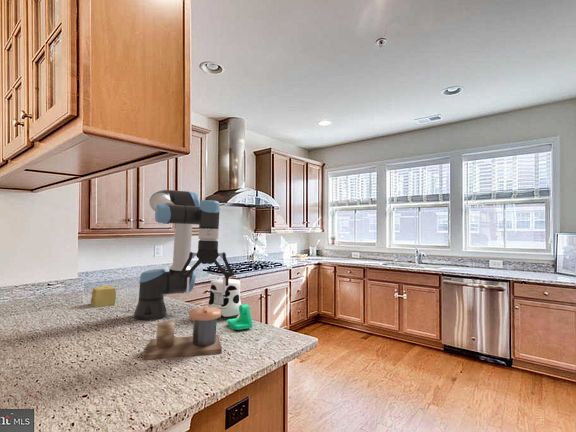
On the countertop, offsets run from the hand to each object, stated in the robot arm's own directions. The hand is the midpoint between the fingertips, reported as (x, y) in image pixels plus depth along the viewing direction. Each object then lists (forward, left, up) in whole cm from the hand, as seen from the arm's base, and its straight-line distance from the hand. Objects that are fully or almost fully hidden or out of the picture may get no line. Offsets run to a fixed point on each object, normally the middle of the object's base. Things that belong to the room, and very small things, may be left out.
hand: (205, 294), depth 121 cm
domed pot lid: (0, 0, -11) cm, 11 cm away
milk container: (-24, +36, -20) cm, 47 cm away
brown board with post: (-4, -5, -20) cm, 21 cm away
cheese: (-93, +9, -20) cm, 96 cm away
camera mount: (-6, +26, -20) cm, 33 cm away
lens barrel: (0, 0, -18) cm, 18 cm away
